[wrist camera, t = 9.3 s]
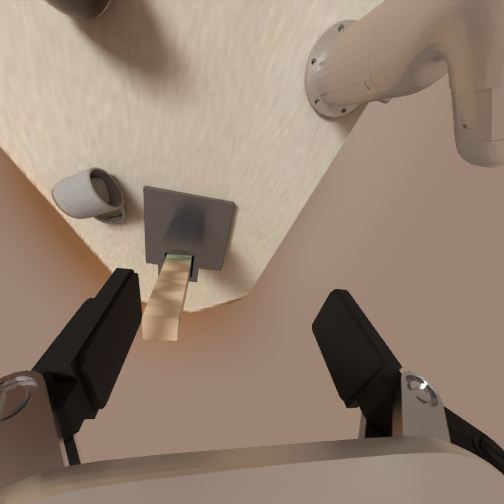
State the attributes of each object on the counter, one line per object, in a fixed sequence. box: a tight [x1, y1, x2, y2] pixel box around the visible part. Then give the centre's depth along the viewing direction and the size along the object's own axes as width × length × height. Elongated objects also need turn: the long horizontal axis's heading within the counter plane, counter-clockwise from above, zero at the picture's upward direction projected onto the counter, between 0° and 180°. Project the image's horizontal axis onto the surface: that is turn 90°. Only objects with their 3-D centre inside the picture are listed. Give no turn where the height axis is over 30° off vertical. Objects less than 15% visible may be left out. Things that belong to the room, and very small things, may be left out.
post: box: [142, 253, 193, 340], centre depth 32 cm, size 4×4×19 cm
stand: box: [143, 186, 234, 282], centre depth 41 cm, size 18×18×14 cm
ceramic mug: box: [52, 168, 126, 224], centre depth 38 cm, size 11×8×8 cm
